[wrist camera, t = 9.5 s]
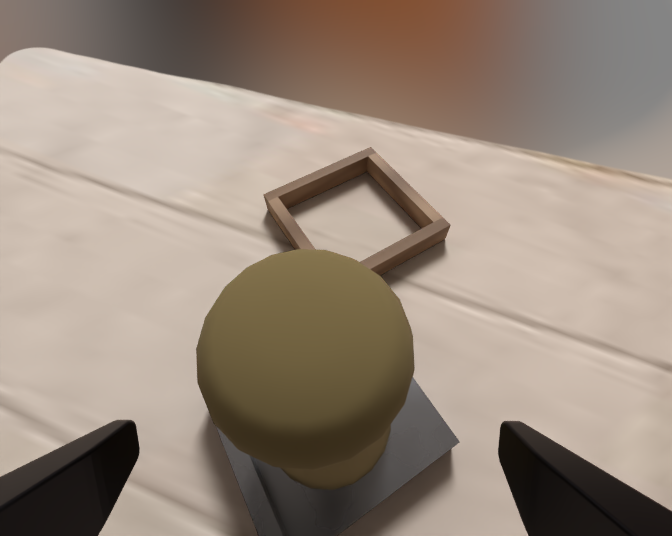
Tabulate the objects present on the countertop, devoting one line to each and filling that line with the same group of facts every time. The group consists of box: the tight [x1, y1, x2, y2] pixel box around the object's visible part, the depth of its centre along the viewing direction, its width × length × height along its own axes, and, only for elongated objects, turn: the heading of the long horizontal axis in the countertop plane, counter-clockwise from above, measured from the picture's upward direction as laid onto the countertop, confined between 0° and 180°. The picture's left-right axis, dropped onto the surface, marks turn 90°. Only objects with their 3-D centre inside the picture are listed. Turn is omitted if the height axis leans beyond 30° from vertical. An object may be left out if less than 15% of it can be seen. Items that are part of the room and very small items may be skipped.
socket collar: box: [263, 147, 450, 276], centre depth 24 cm, size 9×9×2 cm
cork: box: [196, 249, 414, 490], centre depth 12 cm, size 6×6×11 cm
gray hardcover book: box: [216, 377, 459, 536], centre depth 17 cm, size 8×9×2 cm
